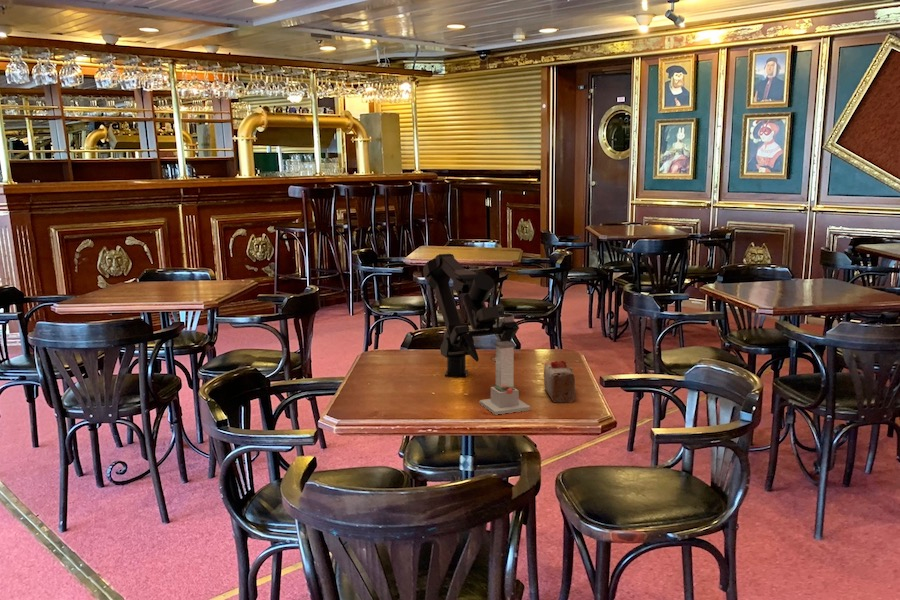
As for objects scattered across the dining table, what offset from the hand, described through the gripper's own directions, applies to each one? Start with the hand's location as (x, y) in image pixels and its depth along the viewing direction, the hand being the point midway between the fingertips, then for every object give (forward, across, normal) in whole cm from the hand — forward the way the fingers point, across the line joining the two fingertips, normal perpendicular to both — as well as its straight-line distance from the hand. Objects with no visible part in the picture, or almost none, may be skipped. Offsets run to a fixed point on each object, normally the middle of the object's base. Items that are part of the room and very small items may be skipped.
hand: (493, 359), depth 193 cm
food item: (+11, +18, +6) cm, 22 cm away
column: (+9, 0, 0) cm, 9 cm away
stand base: (+13, 0, +3) cm, 13 cm away
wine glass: (-18, +20, +35) cm, 44 cm away
